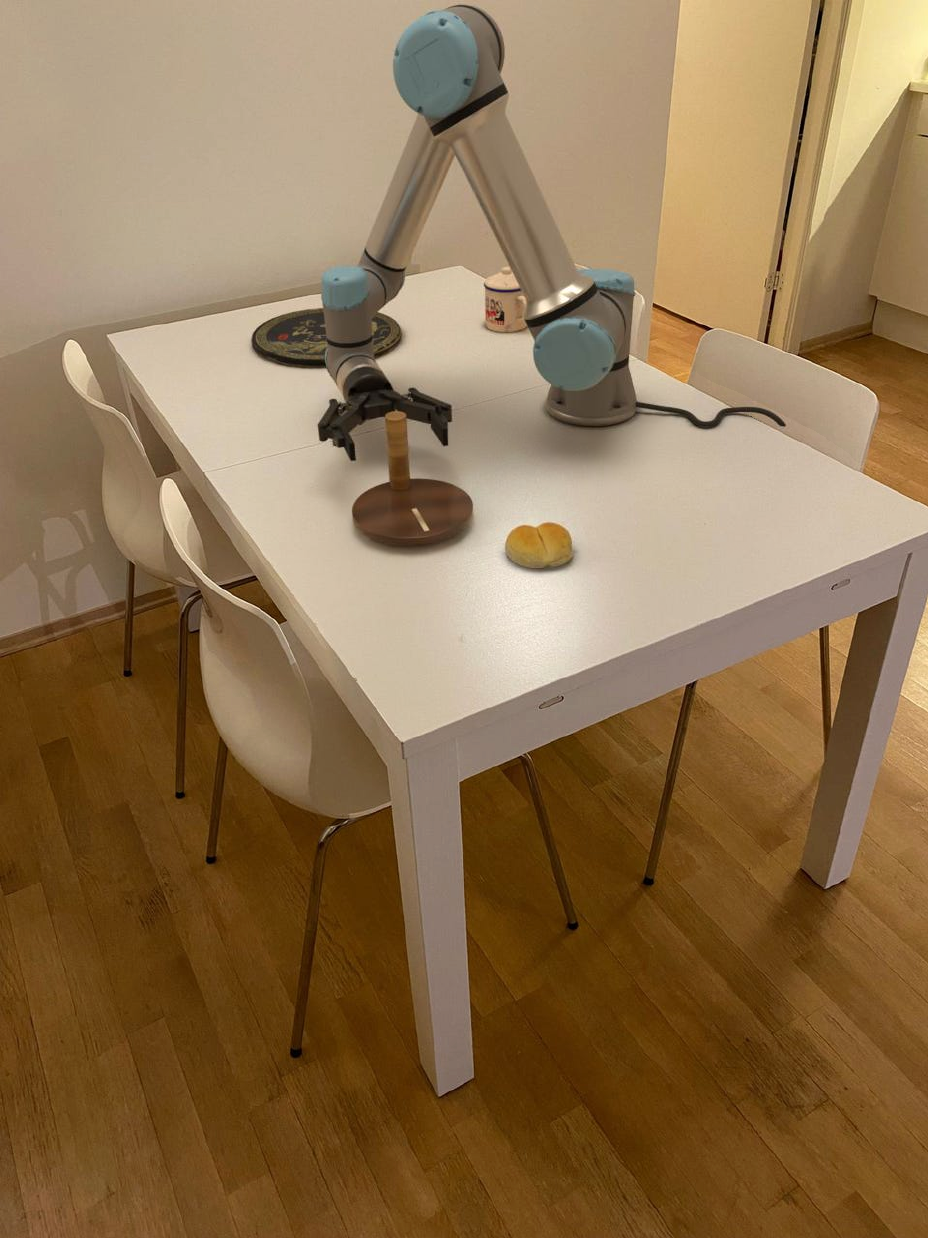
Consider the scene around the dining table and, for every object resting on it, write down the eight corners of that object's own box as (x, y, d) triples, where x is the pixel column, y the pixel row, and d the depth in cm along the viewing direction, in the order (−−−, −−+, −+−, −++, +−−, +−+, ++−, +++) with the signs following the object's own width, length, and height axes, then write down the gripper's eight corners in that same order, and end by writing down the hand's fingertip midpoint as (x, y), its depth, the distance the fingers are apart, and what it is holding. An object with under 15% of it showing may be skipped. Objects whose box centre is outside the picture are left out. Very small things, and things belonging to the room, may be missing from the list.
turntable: (489, 532, 137) (489, 450, 130) (368, 555, 133) (361, 472, 126) (452, 477, 150) (449, 400, 143) (340, 496, 146) (332, 419, 139)
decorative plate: (227, 354, 192) (280, 302, 216) (228, 363, 193) (281, 311, 217) (379, 364, 187) (416, 309, 211) (379, 373, 188) (417, 318, 212)
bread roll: (501, 541, 138) (501, 516, 135) (565, 536, 138) (566, 510, 136) (510, 574, 131) (510, 547, 129) (578, 568, 132) (579, 542, 129)
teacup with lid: (475, 323, 208) (474, 266, 201) (511, 314, 212) (511, 258, 205) (509, 340, 200) (510, 281, 193) (546, 330, 204) (547, 272, 197)
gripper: (441, 399, 164) (483, 454, 147) (290, 422, 158) (315, 482, 142) (440, 355, 160) (482, 407, 143) (284, 377, 154) (309, 433, 137)
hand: (399, 444), depth 142 cm, fingers open, 13 cm apart
